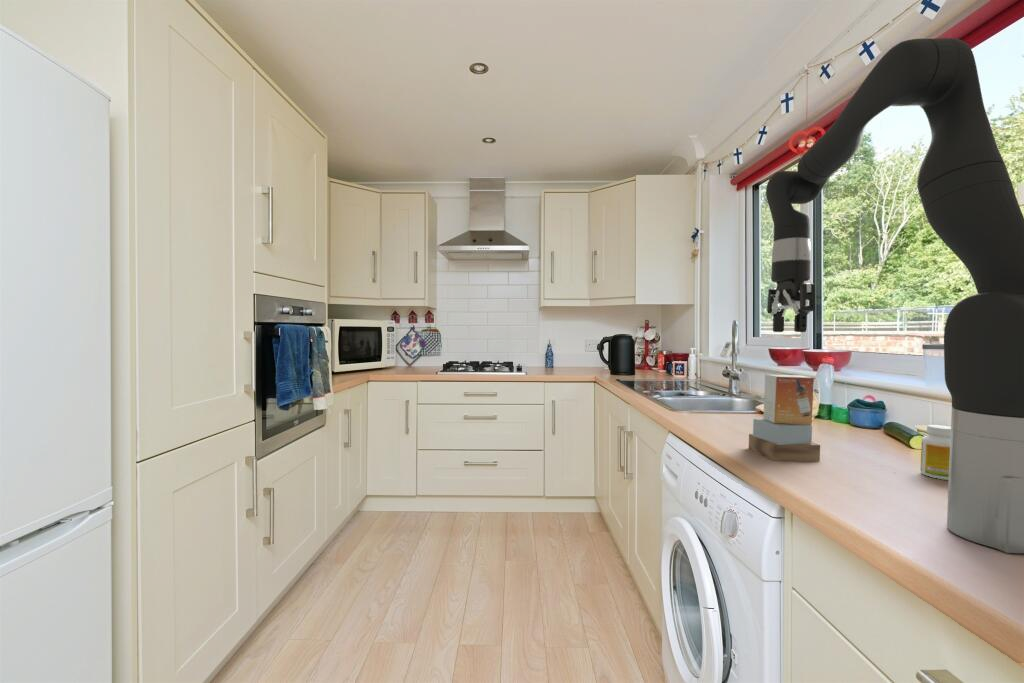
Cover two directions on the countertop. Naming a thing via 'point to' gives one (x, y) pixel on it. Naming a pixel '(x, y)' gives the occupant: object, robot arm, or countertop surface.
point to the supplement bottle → (936, 452)
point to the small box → (788, 399)
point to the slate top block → (782, 432)
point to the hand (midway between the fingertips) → (788, 332)
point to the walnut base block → (785, 450)
